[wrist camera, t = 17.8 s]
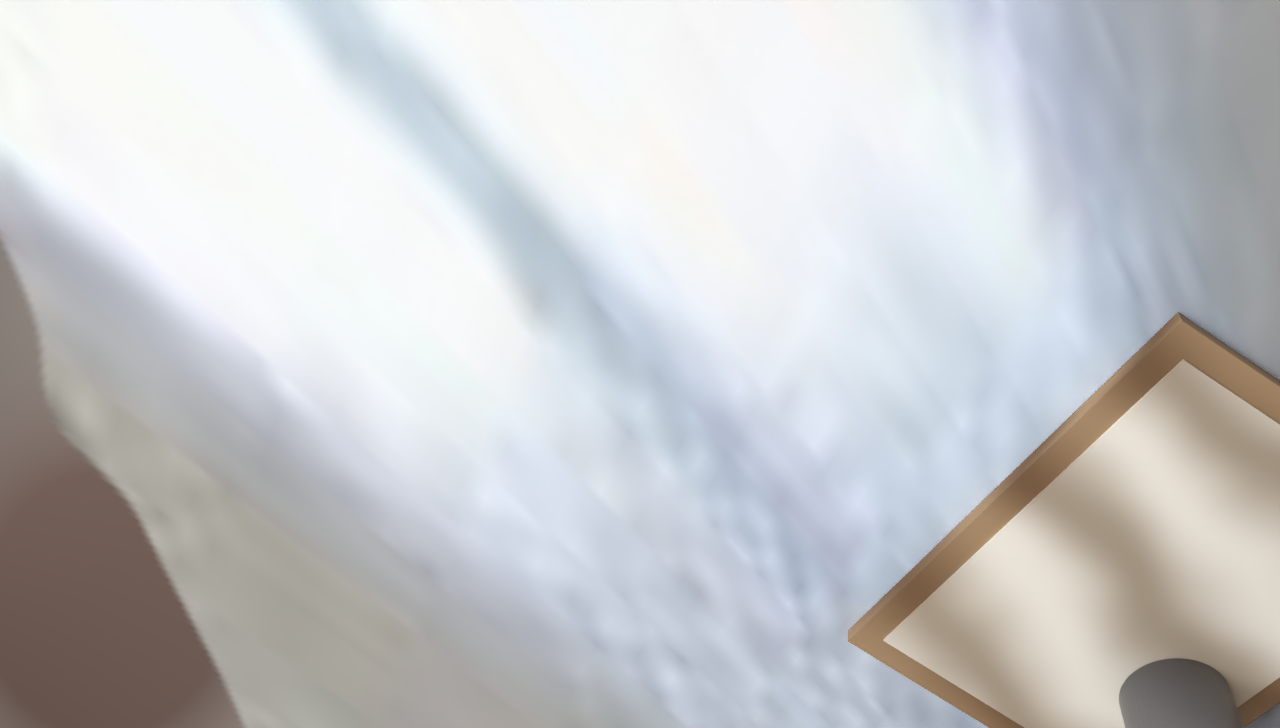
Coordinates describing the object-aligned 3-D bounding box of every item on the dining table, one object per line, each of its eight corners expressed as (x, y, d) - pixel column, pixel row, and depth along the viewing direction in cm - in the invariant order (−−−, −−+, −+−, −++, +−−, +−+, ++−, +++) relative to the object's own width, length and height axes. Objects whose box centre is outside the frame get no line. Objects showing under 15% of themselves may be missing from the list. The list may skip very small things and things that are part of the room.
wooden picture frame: (1178, 312, 39) (1182, 322, 38) (1501, 531, 40) (1510, 544, 40) (848, 630, 48) (847, 642, 47) (1122, 798, 49) (1125, 812, 49)
